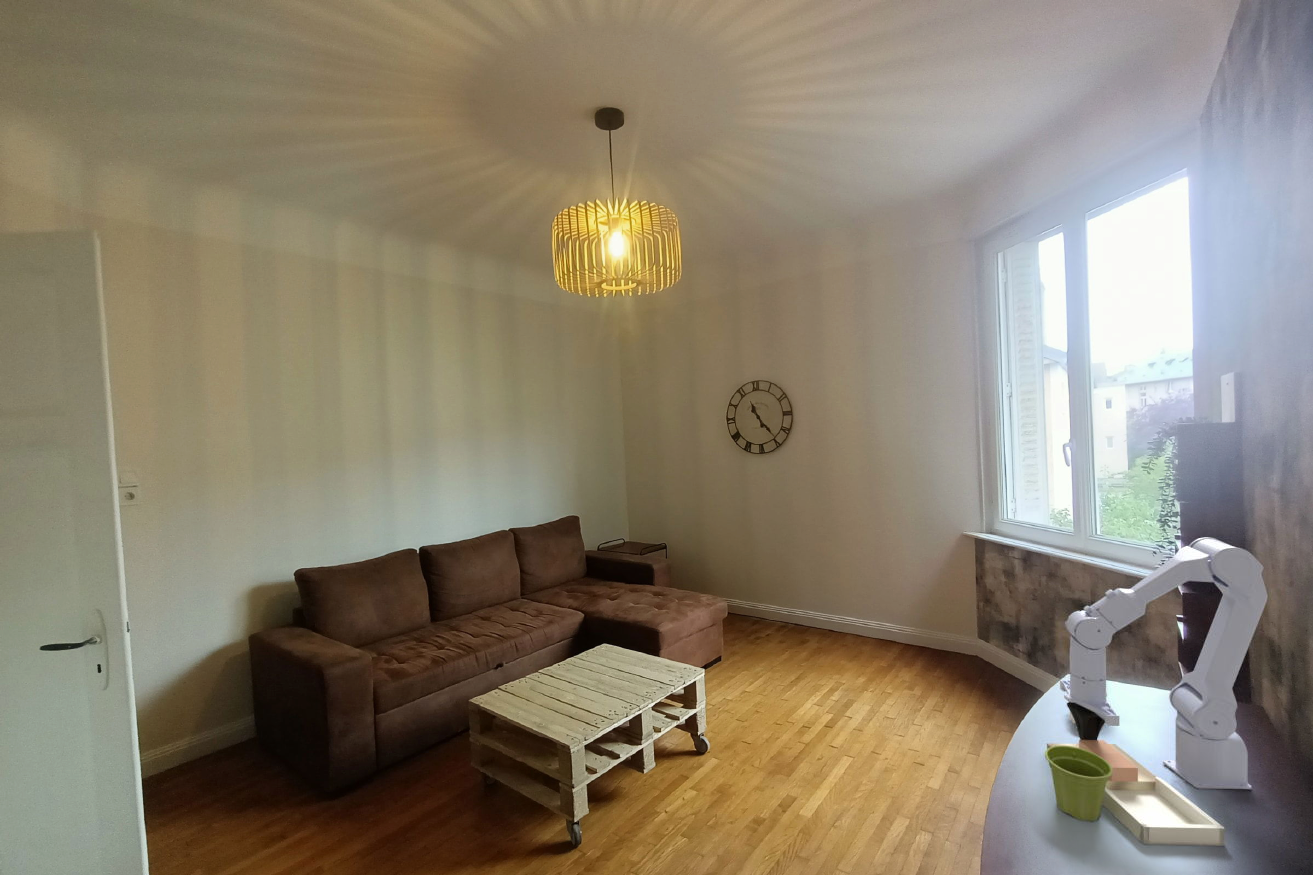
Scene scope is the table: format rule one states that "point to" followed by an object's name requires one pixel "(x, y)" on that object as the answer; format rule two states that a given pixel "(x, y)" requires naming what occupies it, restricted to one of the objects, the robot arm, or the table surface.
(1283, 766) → the table surface
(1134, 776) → the tile
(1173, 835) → the tray
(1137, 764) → the thin cream square panel
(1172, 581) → the robot arm
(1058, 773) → the plant pot
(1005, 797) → the table surface
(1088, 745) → the tile
